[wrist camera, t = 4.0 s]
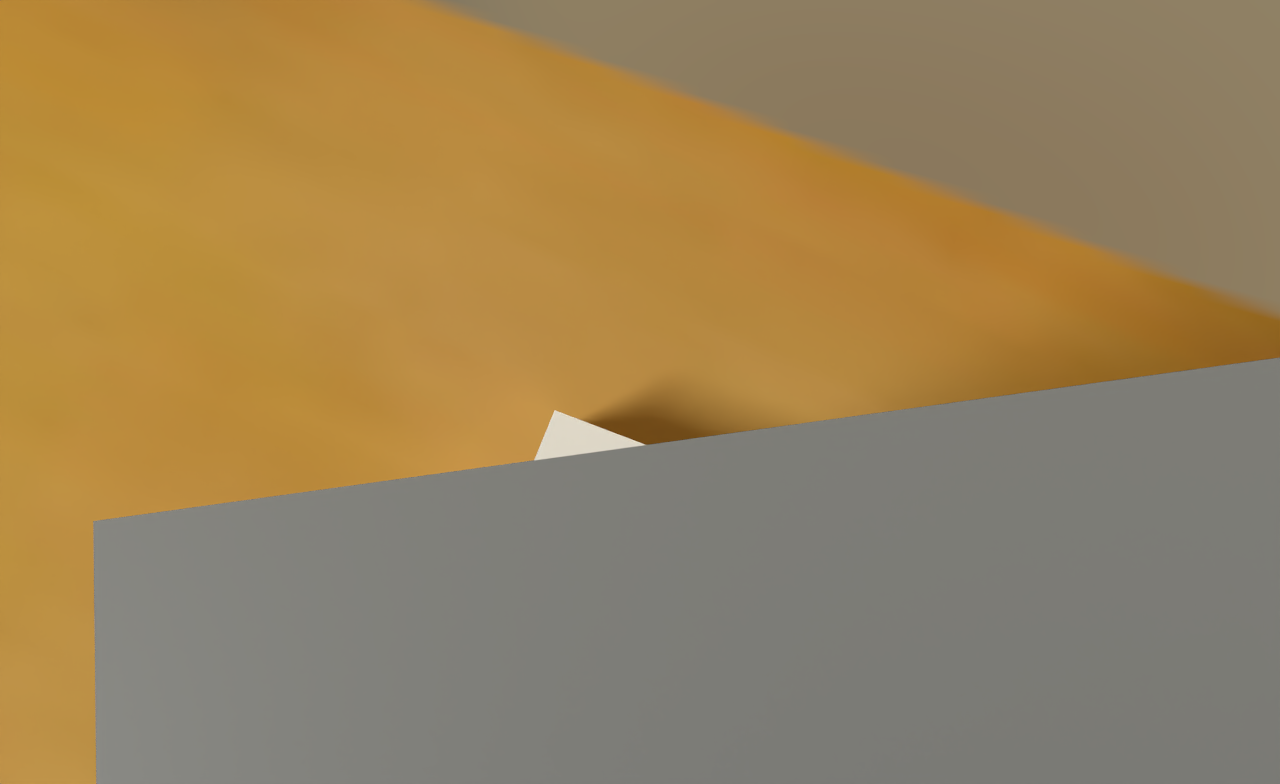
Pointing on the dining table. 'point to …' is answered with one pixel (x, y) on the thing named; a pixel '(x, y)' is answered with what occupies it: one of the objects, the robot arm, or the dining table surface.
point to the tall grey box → (734, 608)
